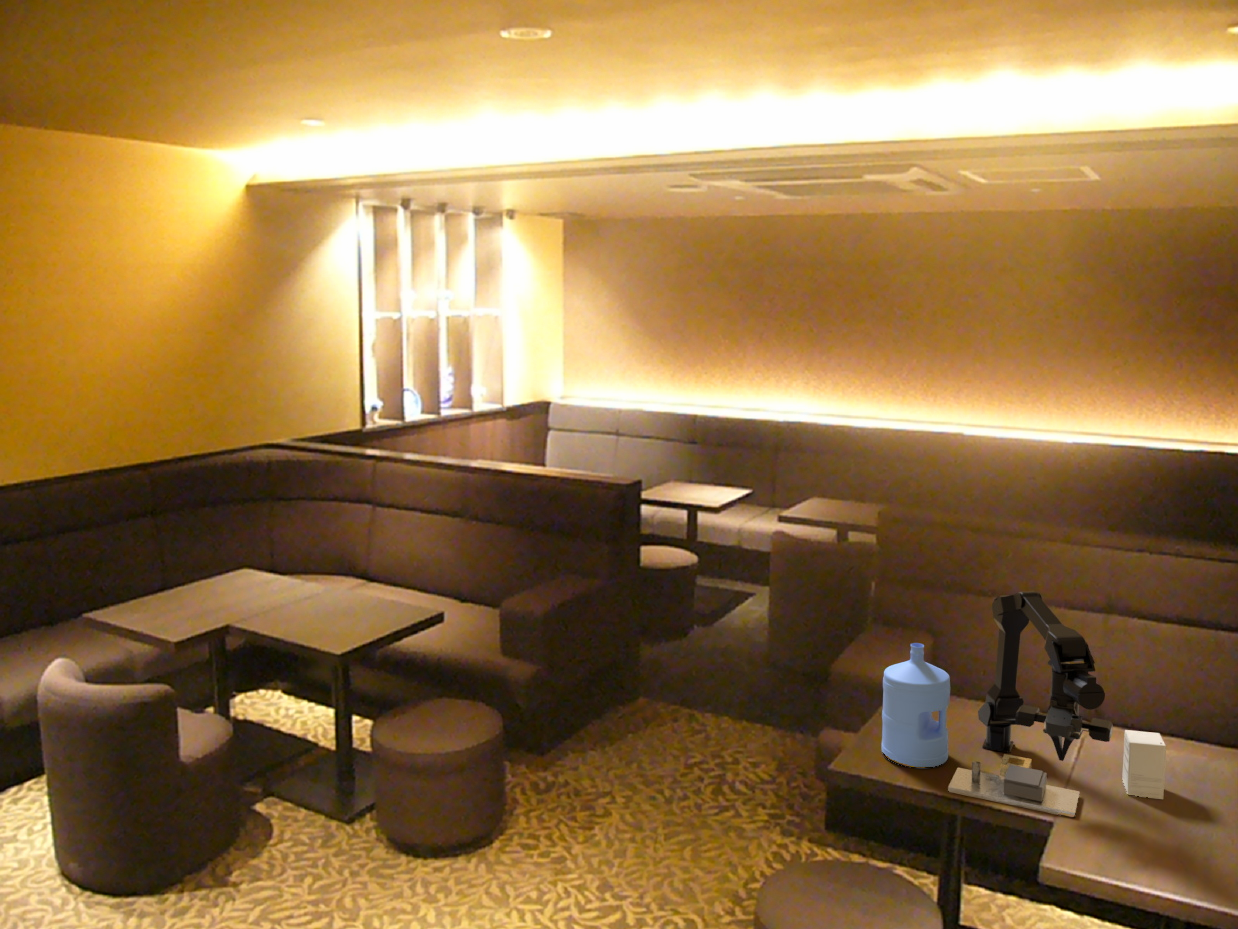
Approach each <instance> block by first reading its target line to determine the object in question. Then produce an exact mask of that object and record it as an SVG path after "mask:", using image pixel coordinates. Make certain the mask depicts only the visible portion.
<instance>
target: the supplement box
mask: <svg viewBox="0 0 1238 929" xmlns="http://www.w3.org/2000/svg"><path fill="white" fill-rule="evenodd" d="M1123 737H1124V740H1123V759H1122V761H1123V762H1122V776H1121V777H1122V779H1121V781H1122V780H1123V781H1122V784H1123V783H1124V784H1123V786H1125V787H1124V789H1126V790H1125V792H1126V791H1127V792H1126V795H1127V794H1129V795H1135V796H1134V797H1137V796H1139V797H1138V798H1146V797H1148V798H1149V799H1156V800H1164V796H1165V795H1164V794H1165V792H1164V790H1165V776H1166V761H1167V760H1166V758H1167V746H1166V745H1167V744H1166V743H1165V742H1164V739H1163V737H1162V736H1161V733H1160V732H1149V731H1142V730H1141V731H1139V730H1131V729H1130V730H1128V729H1124V736H1123Z"/></svg>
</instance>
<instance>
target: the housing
mask: <svg viewBox="0 0 1238 929" xmlns="http://www.w3.org/2000/svg"><path fill="white" fill-rule="evenodd" d="M1047 775H1048V774H1047V772H1044V770H1039V769H1034V768H1031V769H1030V768H1025V767H1020V766H1014V765H1009V767H1008V770H1007V773H1006V775H1005V778H1004V794H1007V795H1012V796H1017V797H1022V798H1026V799H1031V800H1036V801H1041V802H1042V799H1043V796H1044V792H1045V789H1046V785H1047V780H1048V778H1047V777H1048V776H1047Z"/></svg>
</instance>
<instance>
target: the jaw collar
mask: <svg viewBox="0 0 1238 929" xmlns="http://www.w3.org/2000/svg"><path fill="white" fill-rule="evenodd" d="M1032 761H1033V760H1032V758H1028V757H1024V756H1023V757H1022V756H1017V755H1012V754H1008V753H1007V754H1006V753H1004V754H1003V757H1002V759H1001V761H1000V767H999V768H1000V769H999V776H1004V777H1005V775H1006V773H1007V770H1008V767H1009V765H1014V766H1020V767H1025V768H1030V769H1032Z"/></svg>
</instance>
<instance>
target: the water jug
mask: <svg viewBox="0 0 1238 929" xmlns="http://www.w3.org/2000/svg"><path fill="white" fill-rule="evenodd" d="M924 648H925V645H924V644H923V643H919V642H913V643H910V652H909V653H910V658H909V660H906V661H902V662H899V663H895V664H892V665H889V666H888V667H886V668H885V669H884V671H883V678H882V691H883V693H882V694H883V695H882V711H881V718H882V719H881V721H882V733H881V737H882V738H881V753H882V752H883V753H884V754H885V755H886V756H888V757H889V758H890V759H892V760H895V761H897V762H899V763H903V764H907V765H909V766H914V767H933V768H936V767H935V766H937V767H939V765H940V766H942V765H944V764H945V763H946V762H947V760H948V759H949V729H948V728H947V721H948V720H947V715H948V714H947V712H948V711H947V710H948V707H949V705H950V695H951V681H950V680H951V677H950V675H949V673H948V672H946V671H945V670H944V669H942V668H939V667H937V666H935V665H934V664H931V663H929V662H926V661H925V659H924V655H925V651H924ZM934 712H938V721H937V720H935V719H934V717H933V713H934ZM883 753H882V754H883ZM941 764H942V765H941Z"/></svg>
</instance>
